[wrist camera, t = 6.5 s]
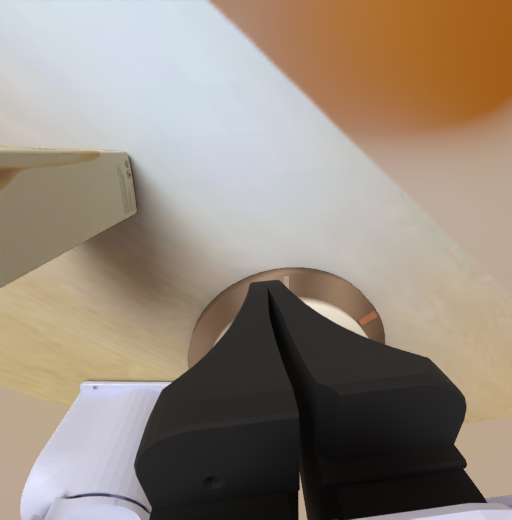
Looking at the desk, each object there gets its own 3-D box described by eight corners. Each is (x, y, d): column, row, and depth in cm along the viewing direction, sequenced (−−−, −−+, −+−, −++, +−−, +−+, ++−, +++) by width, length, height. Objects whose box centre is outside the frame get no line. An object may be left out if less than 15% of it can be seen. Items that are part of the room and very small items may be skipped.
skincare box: (129, 150, 17) (-96, 141, 5) (139, 214, 18) (-15, 308, 7) (27, 146, 16) (-460, 128, 5) (47, 212, 18) (-277, 312, 7)
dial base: (190, 415, 27) (188, 428, 26) (189, 260, 20) (186, 267, 19) (351, 414, 29) (356, 426, 28) (404, 273, 22) (414, 281, 21)
